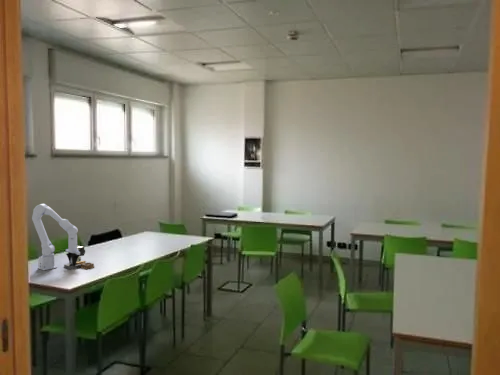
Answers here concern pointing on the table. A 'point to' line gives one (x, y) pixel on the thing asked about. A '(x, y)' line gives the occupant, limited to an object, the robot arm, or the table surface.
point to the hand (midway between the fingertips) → (72, 263)
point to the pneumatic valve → (82, 252)
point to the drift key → (80, 262)
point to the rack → (87, 265)
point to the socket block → (72, 266)
